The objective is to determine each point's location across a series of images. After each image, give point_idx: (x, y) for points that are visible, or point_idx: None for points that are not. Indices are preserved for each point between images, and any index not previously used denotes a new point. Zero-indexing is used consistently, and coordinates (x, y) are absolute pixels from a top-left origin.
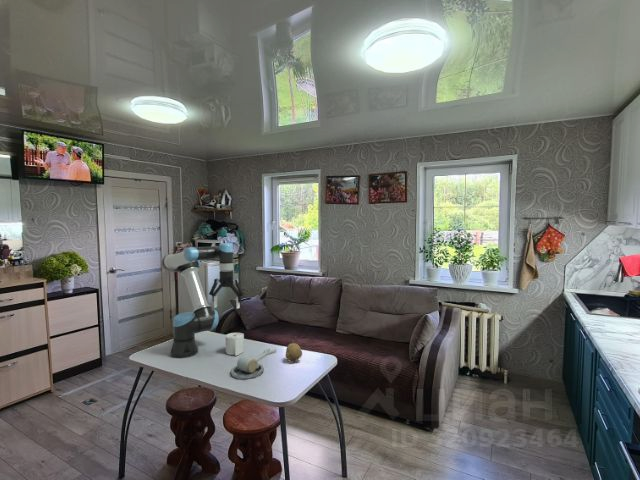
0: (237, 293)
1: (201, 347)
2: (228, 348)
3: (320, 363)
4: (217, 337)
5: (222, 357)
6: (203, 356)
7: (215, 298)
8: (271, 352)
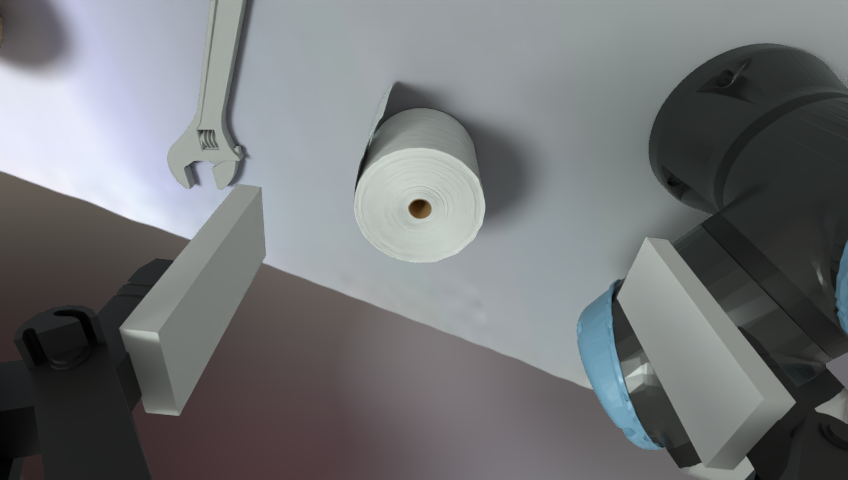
0: (56, 427)
1: (636, 221)
2: (448, 126)
3: None
4: (571, 348)
5: (473, 65)
6: (601, 80)
7: (720, 368)
8: (183, 133)
